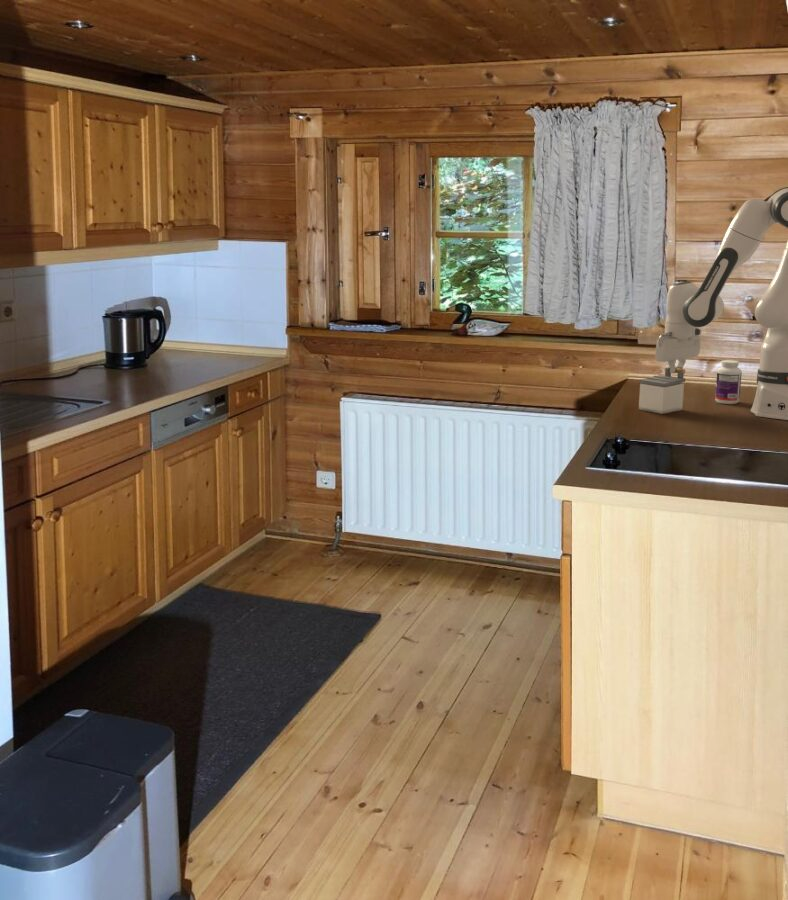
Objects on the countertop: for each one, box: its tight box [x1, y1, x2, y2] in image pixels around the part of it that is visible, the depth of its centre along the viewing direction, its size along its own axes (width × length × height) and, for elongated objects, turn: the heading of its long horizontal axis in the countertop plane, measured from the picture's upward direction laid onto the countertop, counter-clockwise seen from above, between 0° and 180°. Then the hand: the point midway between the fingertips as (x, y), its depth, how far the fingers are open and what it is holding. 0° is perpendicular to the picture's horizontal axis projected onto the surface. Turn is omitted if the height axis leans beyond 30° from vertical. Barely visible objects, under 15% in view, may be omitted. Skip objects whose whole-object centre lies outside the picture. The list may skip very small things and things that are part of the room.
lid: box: [639, 367, 686, 387], centre depth 350 cm, size 14×10×4 cm
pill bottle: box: [714, 359, 742, 405], centre depth 362 cm, size 8×8×14 cm
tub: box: [638, 382, 685, 415], centre depth 351 cm, size 9×11×9 cm
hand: (676, 372), depth 353 cm, fingers closed
